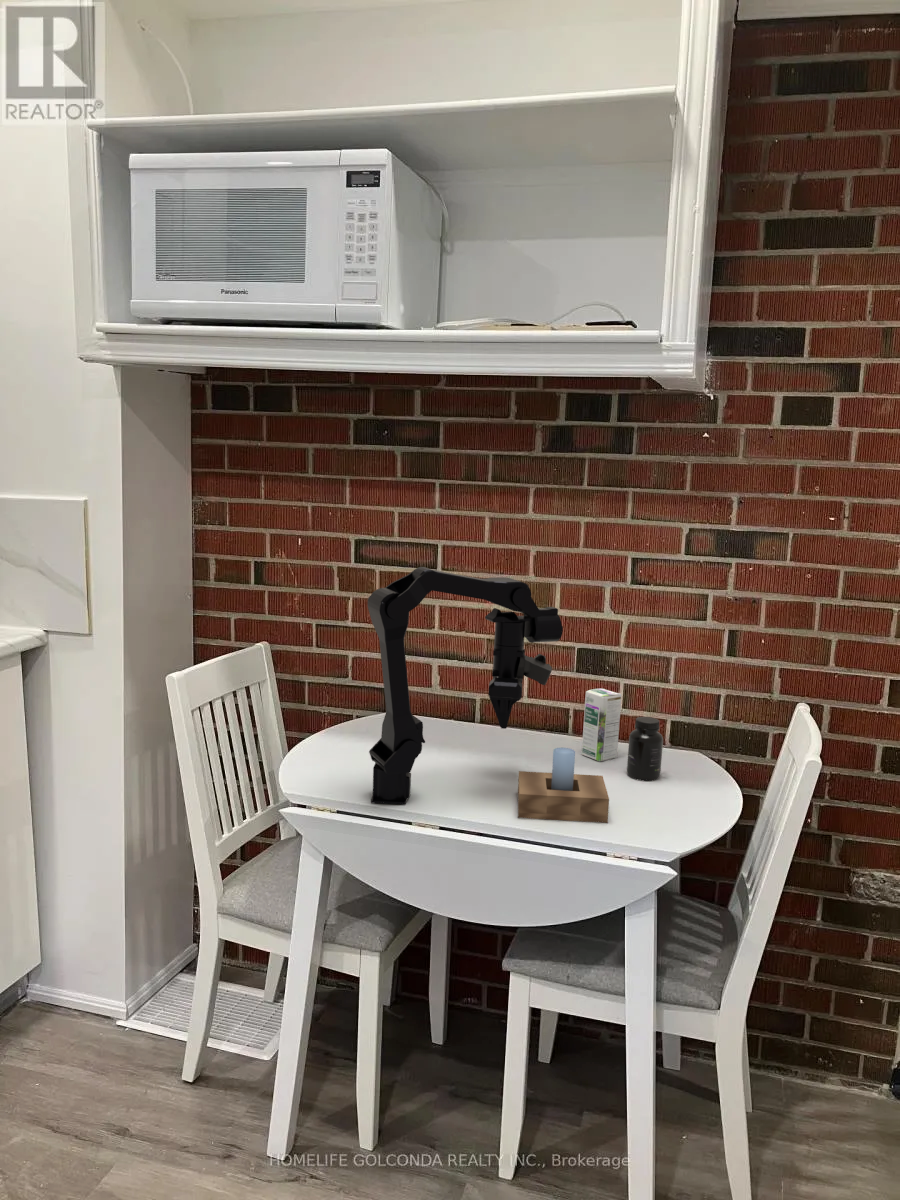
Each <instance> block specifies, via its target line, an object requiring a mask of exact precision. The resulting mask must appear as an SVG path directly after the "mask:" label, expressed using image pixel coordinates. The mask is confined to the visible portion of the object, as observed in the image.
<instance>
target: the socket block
mask: <svg viewBox="0 0 900 1200" xmlns="http://www.w3.org/2000/svg"><path fill="white" fill-rule="evenodd" d="M517 777H518V779H517V780H518V782H517V816H518V817H517V818H518V819H531V820H532V819H533V820H535V819H536V820H551V821H554V820H555V821H569V822H570V821H571V822H586V823H587V822H588V823H589V822H590V823H603V824H605V823H606V824H608V821H609V820H608V819H609V809H610V807H609V805H610V797H609V794H608V791H607V786H606V783H605V780H604V776H603V775H595V774H580V773H579V774H577V773H574V781H573V791H564V790H551V784H552V772H539V771H521V770H519V771H518V776H517Z"/></svg>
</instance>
